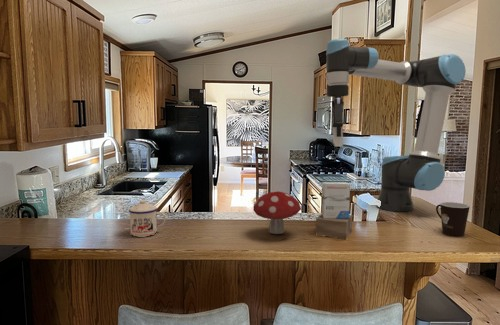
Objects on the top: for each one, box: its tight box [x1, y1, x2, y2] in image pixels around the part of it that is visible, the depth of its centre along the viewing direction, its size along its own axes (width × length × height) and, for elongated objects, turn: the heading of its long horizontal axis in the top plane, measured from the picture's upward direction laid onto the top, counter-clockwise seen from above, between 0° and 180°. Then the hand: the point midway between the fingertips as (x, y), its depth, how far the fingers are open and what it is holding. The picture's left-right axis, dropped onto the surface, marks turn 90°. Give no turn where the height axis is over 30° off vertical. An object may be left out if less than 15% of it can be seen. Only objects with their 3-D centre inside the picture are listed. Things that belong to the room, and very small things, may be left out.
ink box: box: [321, 181, 351, 219], centre depth 123 cm, size 8×5×12 cm, turn 87°
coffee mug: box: [435, 201, 470, 238], centre depth 123 cm, size 12×9×10 cm
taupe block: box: [315, 213, 353, 240], centre depth 124 cm, size 10×10×6 cm
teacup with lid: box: [128, 199, 167, 235], centre depth 123 cm, size 12×9×12 cm
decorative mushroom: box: [253, 190, 302, 235], centre depth 121 cm, size 16×16×15 cm
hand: (337, 145), depth 131 cm, fingers open, 13 cm apart
